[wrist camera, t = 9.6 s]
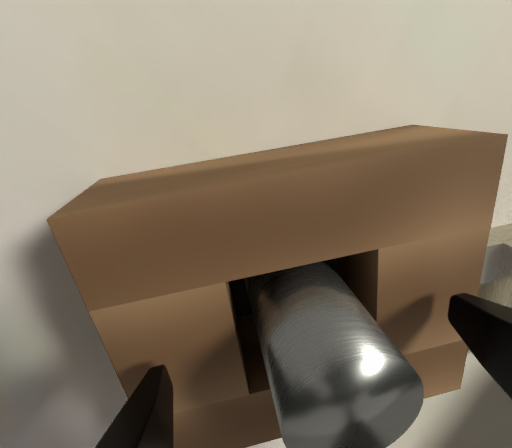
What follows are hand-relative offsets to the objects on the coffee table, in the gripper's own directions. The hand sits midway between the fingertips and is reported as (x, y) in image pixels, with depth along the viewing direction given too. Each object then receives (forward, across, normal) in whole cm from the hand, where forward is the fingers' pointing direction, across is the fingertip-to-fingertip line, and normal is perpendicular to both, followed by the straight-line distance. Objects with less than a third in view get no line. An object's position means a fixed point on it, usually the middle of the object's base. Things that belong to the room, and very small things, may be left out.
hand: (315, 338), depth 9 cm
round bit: (+4, 0, 0) cm, 4 cm away
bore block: (+4, 0, 0) cm, 4 cm away
